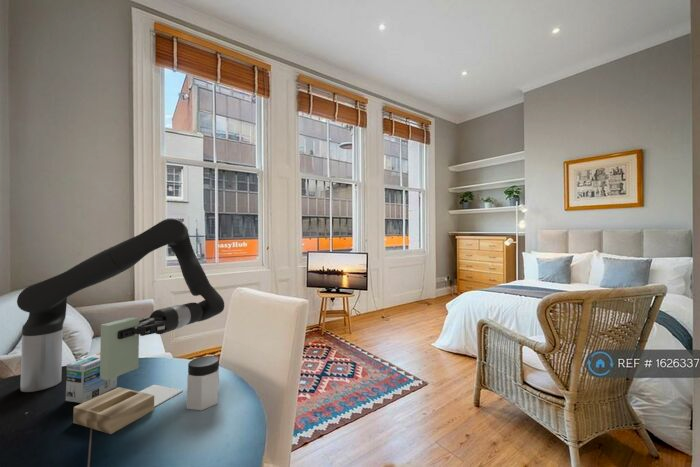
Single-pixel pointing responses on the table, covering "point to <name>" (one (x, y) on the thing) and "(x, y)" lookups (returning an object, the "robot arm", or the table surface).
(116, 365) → the grey-green angular block
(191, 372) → the jar
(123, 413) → the grooved wooden block
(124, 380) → the table surface
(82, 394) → the light bulb box
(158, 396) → the mat
